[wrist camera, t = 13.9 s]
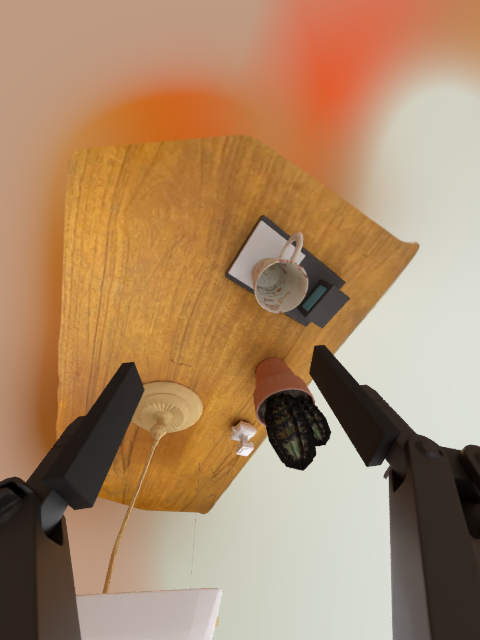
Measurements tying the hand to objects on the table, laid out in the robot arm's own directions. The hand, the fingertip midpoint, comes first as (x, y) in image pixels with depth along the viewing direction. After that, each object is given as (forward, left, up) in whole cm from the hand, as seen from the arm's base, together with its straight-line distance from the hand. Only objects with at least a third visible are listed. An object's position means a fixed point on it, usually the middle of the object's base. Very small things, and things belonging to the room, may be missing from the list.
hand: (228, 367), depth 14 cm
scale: (+1, +14, -29) cm, 32 cm away
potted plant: (+28, +12, -29) cm, 42 cm away
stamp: (+52, +3, -29) cm, 60 cm away
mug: (-2, +10, -26) cm, 28 cm away
